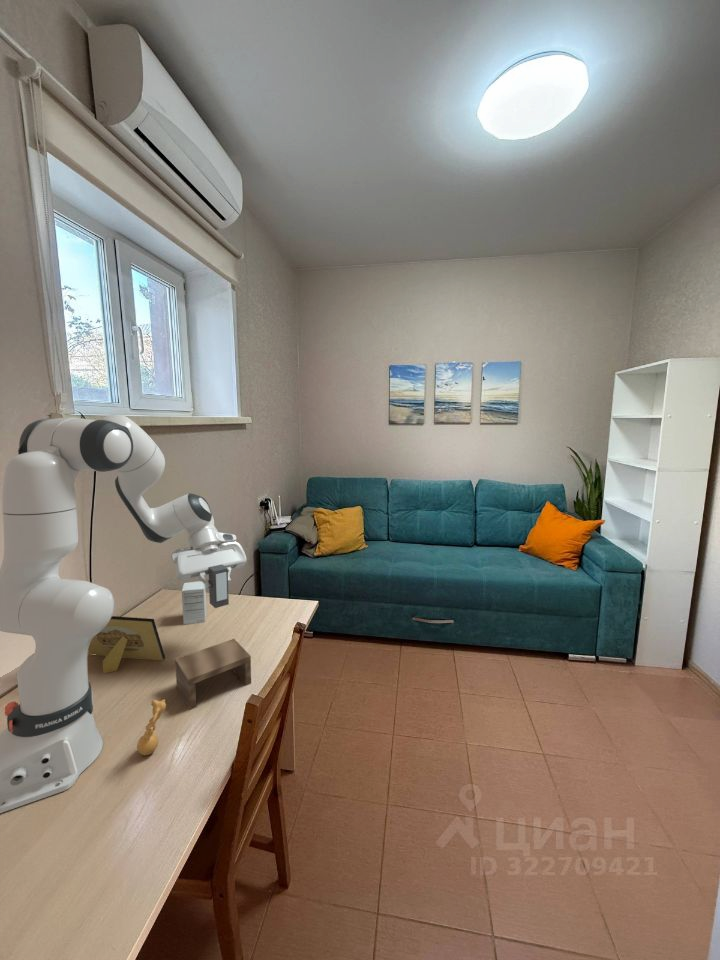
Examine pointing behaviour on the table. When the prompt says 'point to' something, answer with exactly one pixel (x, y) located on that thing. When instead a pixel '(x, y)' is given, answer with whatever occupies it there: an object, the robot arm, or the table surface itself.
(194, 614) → the supplement box
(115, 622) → the picture frame
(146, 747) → the figurine
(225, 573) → the tall grey pillar block
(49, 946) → the table surface
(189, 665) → the walnut shelf
